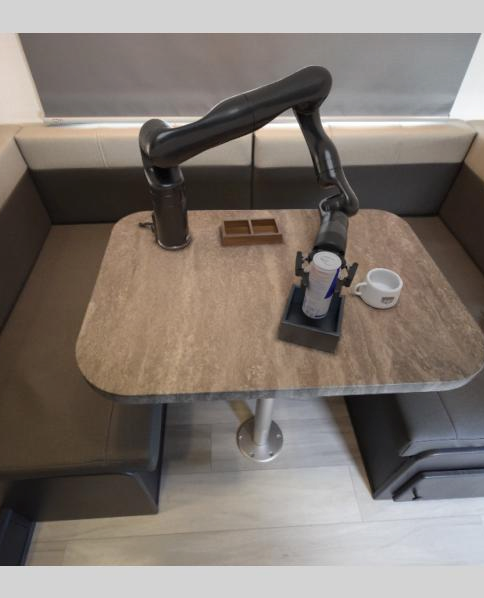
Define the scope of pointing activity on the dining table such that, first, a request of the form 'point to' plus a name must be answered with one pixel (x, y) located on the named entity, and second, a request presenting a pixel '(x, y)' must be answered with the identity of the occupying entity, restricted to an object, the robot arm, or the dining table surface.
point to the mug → (380, 288)
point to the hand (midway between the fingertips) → (319, 291)
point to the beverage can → (321, 284)
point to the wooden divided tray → (251, 231)
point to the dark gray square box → (311, 323)
